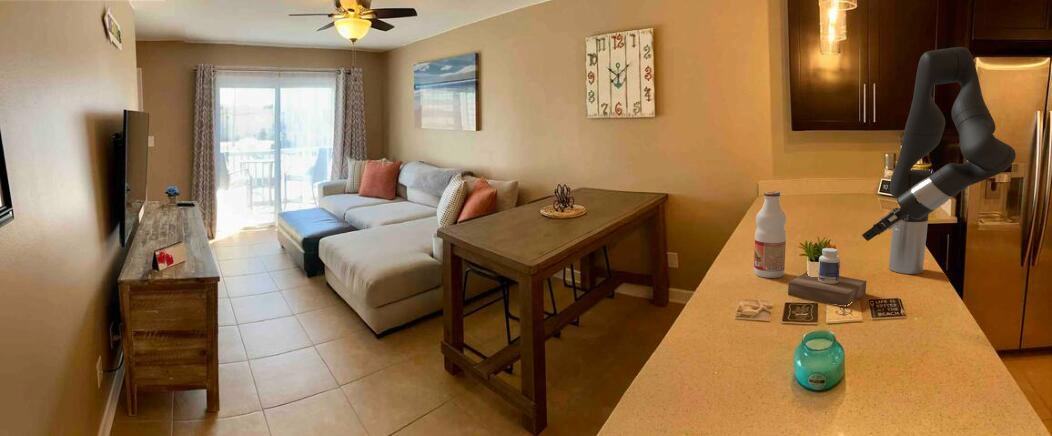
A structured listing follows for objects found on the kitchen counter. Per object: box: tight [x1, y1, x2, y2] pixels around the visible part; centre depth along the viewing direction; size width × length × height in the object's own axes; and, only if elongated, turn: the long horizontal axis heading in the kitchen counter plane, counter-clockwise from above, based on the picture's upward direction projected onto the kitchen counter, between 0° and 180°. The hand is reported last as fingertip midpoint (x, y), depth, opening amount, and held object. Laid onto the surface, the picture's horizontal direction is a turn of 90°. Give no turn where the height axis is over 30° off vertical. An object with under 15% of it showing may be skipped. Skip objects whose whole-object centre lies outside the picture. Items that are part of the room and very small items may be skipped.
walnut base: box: [787, 271, 867, 306], centre depth 159 cm, size 15×16×4 cm
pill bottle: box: [817, 247, 841, 284], centre depth 158 cm, size 5×5×10 cm
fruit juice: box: [753, 190, 787, 279], centre depth 177 cm, size 9×9×28 cm
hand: (870, 235), depth 148 cm, fingers open, 8 cm apart
